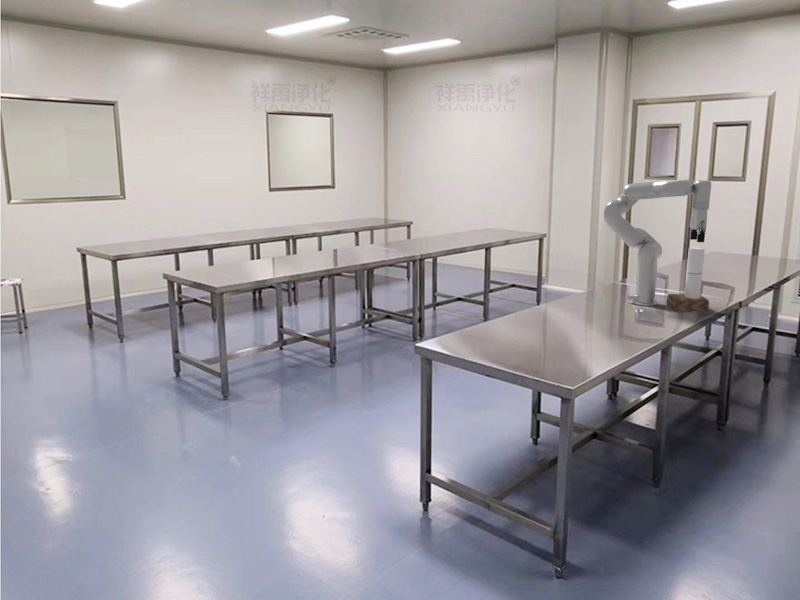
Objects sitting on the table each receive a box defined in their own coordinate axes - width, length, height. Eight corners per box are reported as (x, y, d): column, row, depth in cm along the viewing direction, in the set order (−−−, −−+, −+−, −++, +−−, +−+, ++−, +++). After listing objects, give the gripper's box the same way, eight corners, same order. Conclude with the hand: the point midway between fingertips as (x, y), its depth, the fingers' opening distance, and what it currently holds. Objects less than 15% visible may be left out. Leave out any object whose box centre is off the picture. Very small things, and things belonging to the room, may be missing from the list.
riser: (674, 311, 316) (675, 299, 315) (666, 304, 330) (667, 293, 328) (708, 311, 314) (709, 300, 313) (698, 305, 328) (699, 294, 327)
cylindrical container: (691, 299, 315) (695, 249, 310) (681, 296, 322) (685, 247, 317) (703, 298, 317) (707, 248, 312) (693, 295, 324) (697, 246, 318)
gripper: (686, 204, 318) (683, 238, 322) (698, 207, 301) (695, 243, 305) (702, 204, 317) (698, 238, 321) (715, 207, 301) (711, 243, 305)
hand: (696, 240), depth 313 cm, fingers open, 9 cm apart
